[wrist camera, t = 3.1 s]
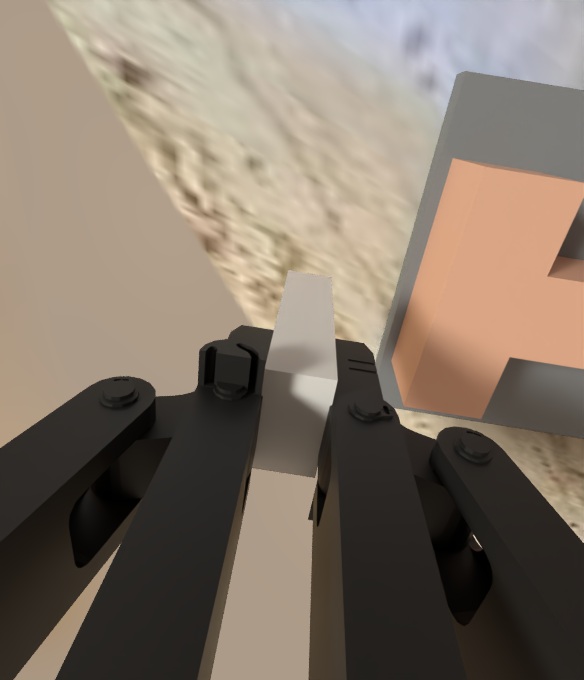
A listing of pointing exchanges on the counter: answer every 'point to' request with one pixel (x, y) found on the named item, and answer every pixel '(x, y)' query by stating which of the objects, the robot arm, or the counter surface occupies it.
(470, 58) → the counter surface
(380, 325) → the counter surface
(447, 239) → the t block
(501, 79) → the mat
